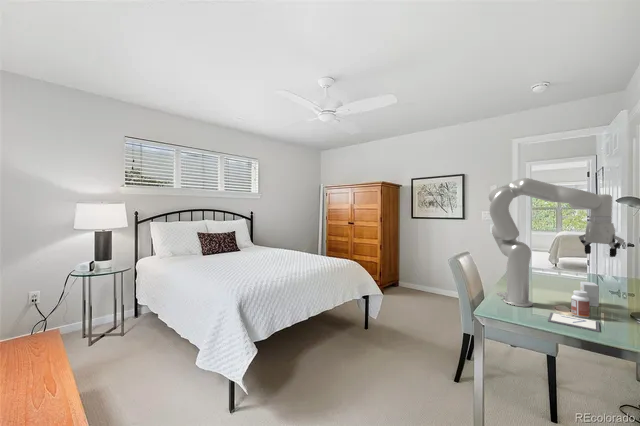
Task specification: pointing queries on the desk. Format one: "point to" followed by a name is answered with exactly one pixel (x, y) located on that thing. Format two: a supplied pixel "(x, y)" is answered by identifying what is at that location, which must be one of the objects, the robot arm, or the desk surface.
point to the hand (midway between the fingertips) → (599, 255)
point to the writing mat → (574, 322)
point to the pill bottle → (580, 304)
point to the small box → (591, 292)
